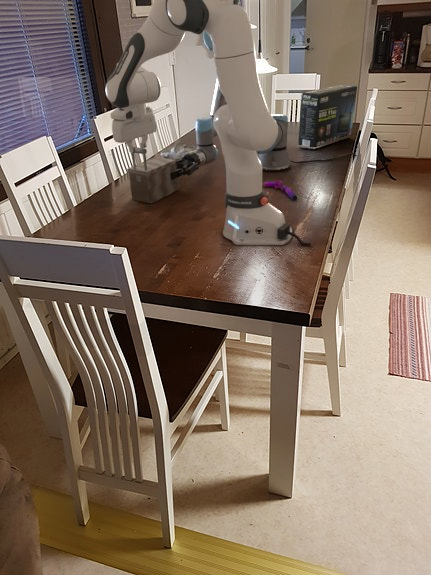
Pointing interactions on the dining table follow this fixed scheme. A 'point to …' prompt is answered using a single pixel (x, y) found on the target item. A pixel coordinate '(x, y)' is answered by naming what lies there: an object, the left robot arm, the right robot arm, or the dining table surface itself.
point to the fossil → (177, 151)
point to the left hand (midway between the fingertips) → (138, 149)
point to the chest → (153, 185)
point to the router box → (326, 115)
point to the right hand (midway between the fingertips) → (161, 174)
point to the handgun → (281, 185)
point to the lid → (148, 163)
